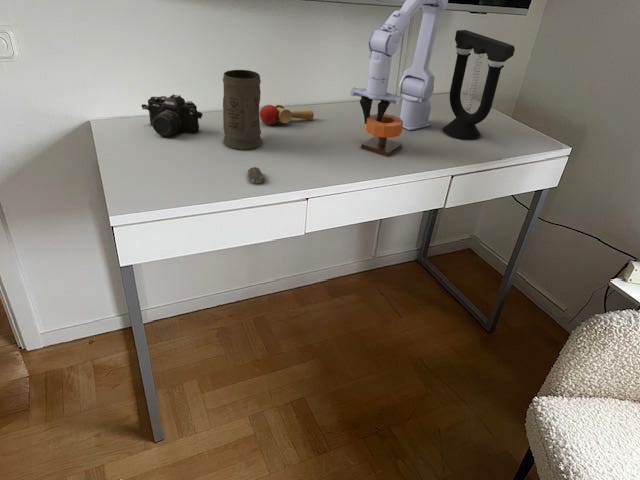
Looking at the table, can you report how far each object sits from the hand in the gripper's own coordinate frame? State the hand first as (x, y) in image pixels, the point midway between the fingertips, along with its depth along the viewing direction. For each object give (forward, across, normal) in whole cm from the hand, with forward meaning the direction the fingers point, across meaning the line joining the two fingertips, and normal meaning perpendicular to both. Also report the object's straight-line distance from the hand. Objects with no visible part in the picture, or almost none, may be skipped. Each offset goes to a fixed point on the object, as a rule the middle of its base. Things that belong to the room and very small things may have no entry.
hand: (372, 124), depth 145 cm
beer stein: (+7, -33, -17) cm, 37 cm away
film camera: (+7, -54, -23) cm, 59 cm away
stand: (+6, +4, 0) cm, 8 cm away
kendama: (+7, -29, +3) cm, 30 cm away
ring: (+1, +4, 0) cm, 4 cm away
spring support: (+7, +24, +26) cm, 36 cm away
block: (+7, -18, -37) cm, 42 cm away
